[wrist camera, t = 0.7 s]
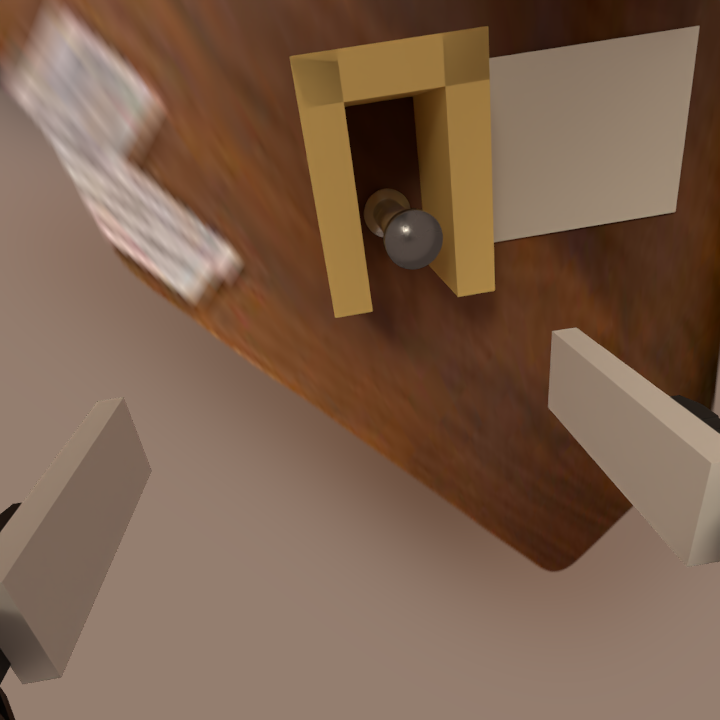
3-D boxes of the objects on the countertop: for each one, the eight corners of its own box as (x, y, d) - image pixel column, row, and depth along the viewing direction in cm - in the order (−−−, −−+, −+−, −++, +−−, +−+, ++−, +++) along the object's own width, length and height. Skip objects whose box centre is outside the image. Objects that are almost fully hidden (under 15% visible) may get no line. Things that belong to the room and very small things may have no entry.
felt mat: (478, 60, 31) (480, 59, 30) (696, 26, 31) (699, 25, 31) (484, 242, 36) (486, 243, 35) (672, 211, 36) (675, 212, 36)
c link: (293, 73, 30) (289, 56, 23) (444, 50, 30) (488, 25, 23) (328, 279, 36) (335, 318, 28) (456, 258, 36) (494, 290, 29)
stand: (360, 192, 33) (379, 214, 25) (407, 184, 33) (442, 203, 25) (366, 239, 35) (387, 275, 26) (411, 232, 35) (446, 265, 26)
